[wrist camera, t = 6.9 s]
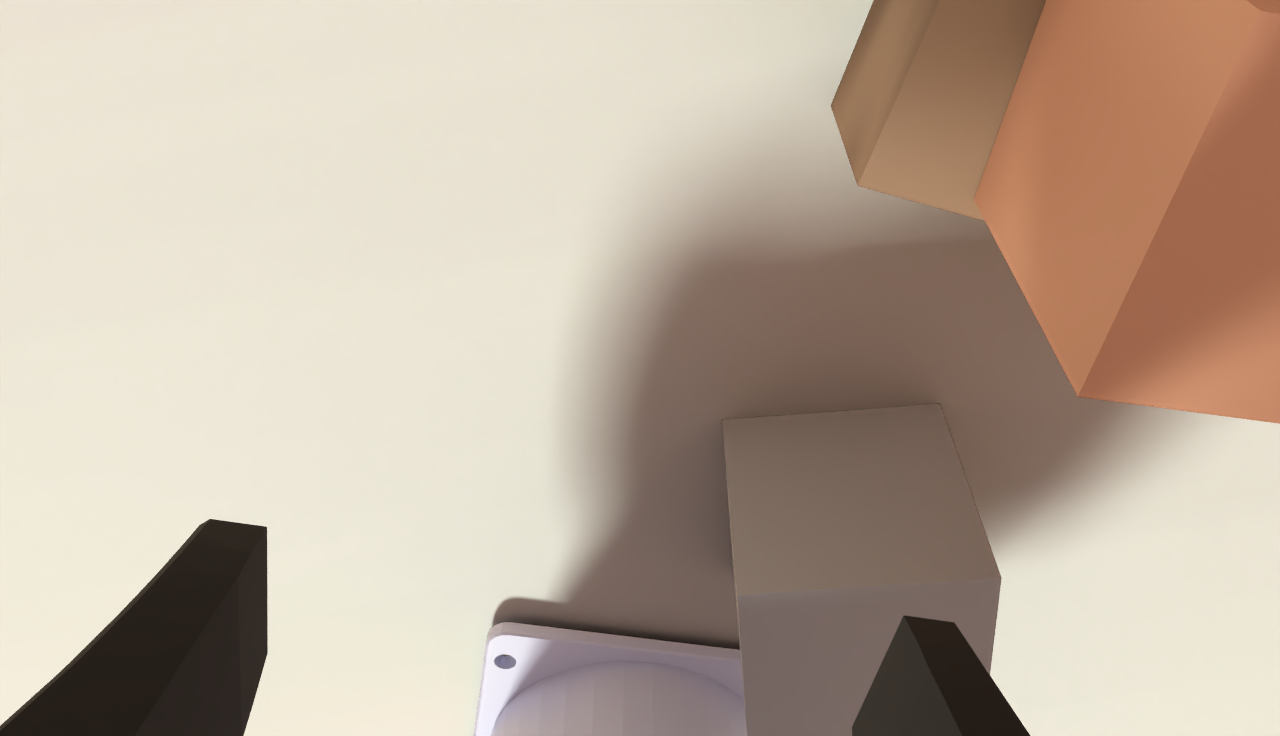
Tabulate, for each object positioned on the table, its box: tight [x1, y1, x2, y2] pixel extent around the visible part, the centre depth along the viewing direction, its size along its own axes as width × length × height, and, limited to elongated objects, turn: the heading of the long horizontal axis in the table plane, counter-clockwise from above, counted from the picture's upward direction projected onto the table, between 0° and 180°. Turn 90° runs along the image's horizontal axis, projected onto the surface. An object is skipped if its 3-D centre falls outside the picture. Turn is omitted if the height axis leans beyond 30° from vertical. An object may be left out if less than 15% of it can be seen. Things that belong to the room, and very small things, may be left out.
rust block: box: [974, 0, 1280, 423], centre depth 14 cm, size 4×4×5 cm
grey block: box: [722, 403, 1001, 736], centre depth 23 cm, size 4×4×5 cm
